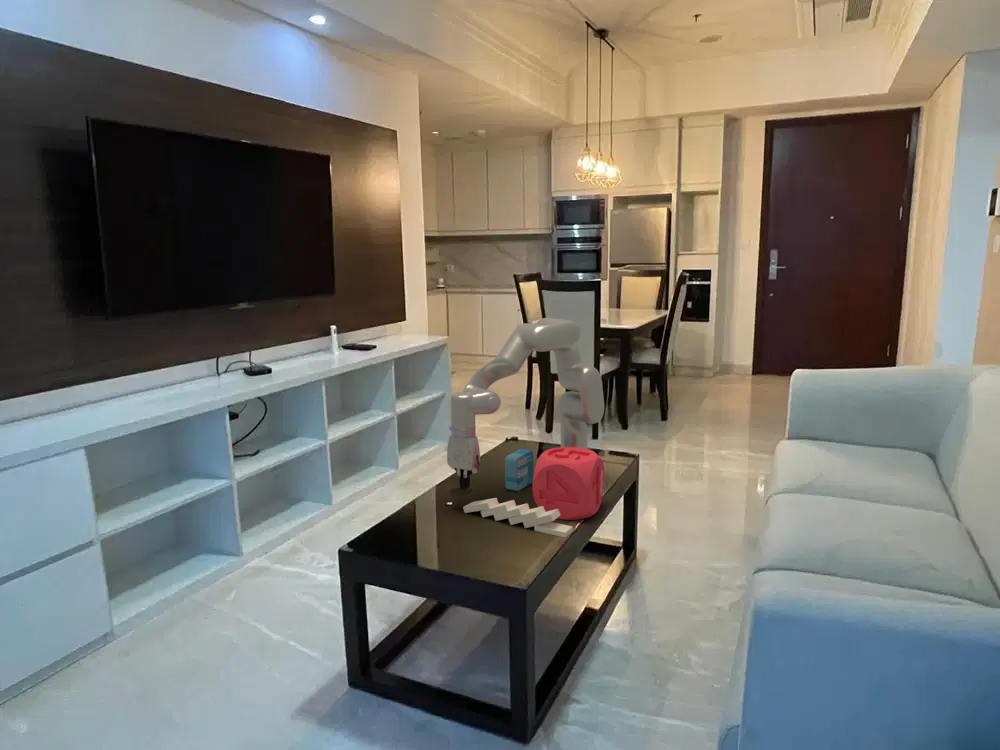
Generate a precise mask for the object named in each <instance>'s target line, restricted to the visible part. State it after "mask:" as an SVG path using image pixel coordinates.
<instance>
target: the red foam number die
mask: <svg viewBox="0 0 1000 750" xmlns="http://www.w3.org/2000/svg"><path fill="white" fill-rule="evenodd" d="M534 466H535V467H534V469H533V482H532V495H533V499H534V502H535V504H536V505H537V507H541V506H543V507H544V509H545V512H548V511H551V510H555V509H558V510H559V512H560V516H559V517H558V518H556V519H558V520H564V521H565V520H566V521H576V520H578V519H579V520H584V518H585V519H588V518H591V517H593V516H594V515H595V514H597V512H598V511H599V509H600V508H601V507H600V506H601V504H602V500H603V495H604V492H605V491H604V490H605V482H606V481H605V480H606V479H605V478H606V477H605V476H606V473H605V464H604V462H603V459H602V458H601V457H600V456H599V455H598V454H597V453H596V452H595V451H593V450H591V449H589V448H587V449H585V448H579V447H561V446H560V447H559V446H558V447H553V448H549V449H546V450H543V452H542V453H541V454H540V455H539V457H538V458H537V461H536V463H535V465H534Z"/></svg>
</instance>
